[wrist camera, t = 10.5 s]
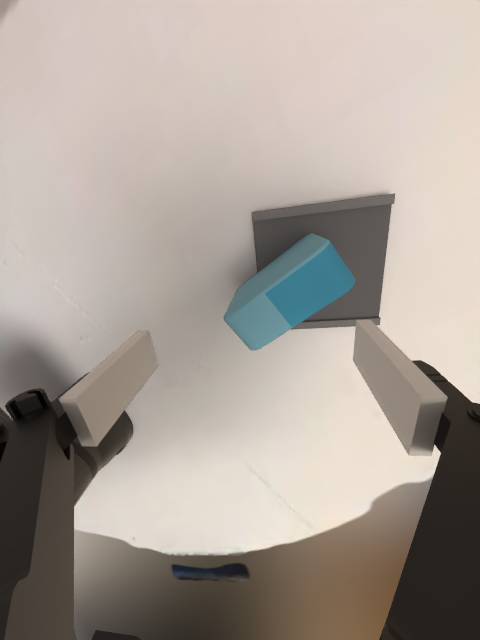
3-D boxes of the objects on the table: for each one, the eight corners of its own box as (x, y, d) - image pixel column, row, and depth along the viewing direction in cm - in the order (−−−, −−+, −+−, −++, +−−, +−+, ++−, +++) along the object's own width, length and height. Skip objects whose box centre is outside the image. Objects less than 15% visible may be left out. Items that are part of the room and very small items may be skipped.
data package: (256, 312, 35) (249, 356, 24) (236, 288, 34) (219, 323, 23) (330, 260, 31) (361, 284, 20) (310, 231, 30) (331, 239, 19)
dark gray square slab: (262, 325, 37) (262, 330, 35) (252, 212, 31) (251, 212, 29) (374, 319, 34) (379, 324, 32) (388, 194, 28) (395, 193, 26)
